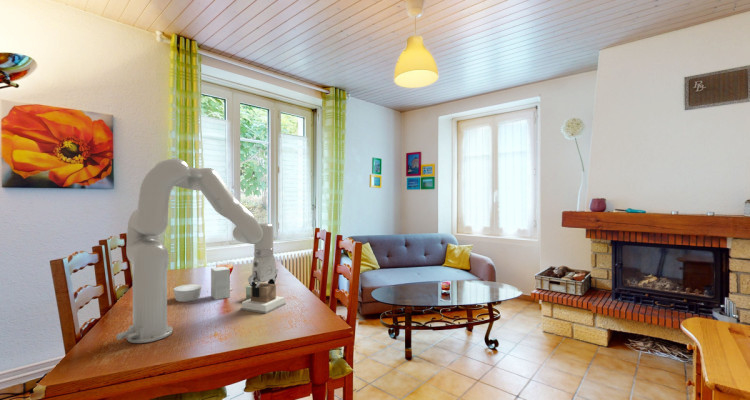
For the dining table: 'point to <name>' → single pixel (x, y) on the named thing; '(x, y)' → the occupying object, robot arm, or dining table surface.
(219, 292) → the small box
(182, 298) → the ramekin
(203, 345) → the dining table surface
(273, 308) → the plinth
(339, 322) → the dining table surface
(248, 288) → the sage cube
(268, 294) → the walnut brick
